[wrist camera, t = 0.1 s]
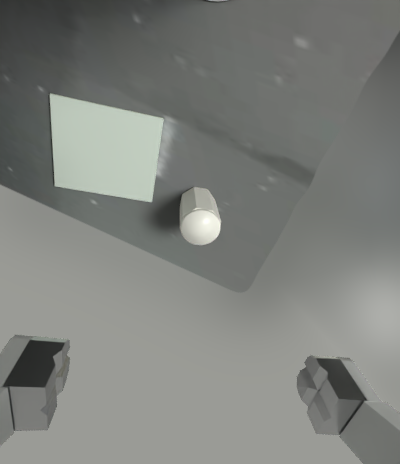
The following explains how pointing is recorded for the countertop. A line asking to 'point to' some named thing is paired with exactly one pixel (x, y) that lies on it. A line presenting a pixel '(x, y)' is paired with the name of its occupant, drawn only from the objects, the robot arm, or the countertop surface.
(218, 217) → the domed hexagonal post
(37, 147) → the countertop surface
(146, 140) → the mat
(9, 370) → the robot arm
